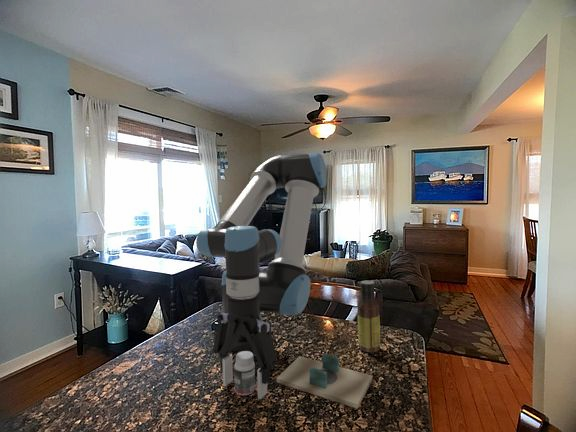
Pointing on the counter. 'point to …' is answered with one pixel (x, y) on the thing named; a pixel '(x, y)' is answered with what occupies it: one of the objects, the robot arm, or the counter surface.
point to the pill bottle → (244, 373)
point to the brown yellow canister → (368, 319)
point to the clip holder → (327, 380)
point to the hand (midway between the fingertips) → (244, 389)
